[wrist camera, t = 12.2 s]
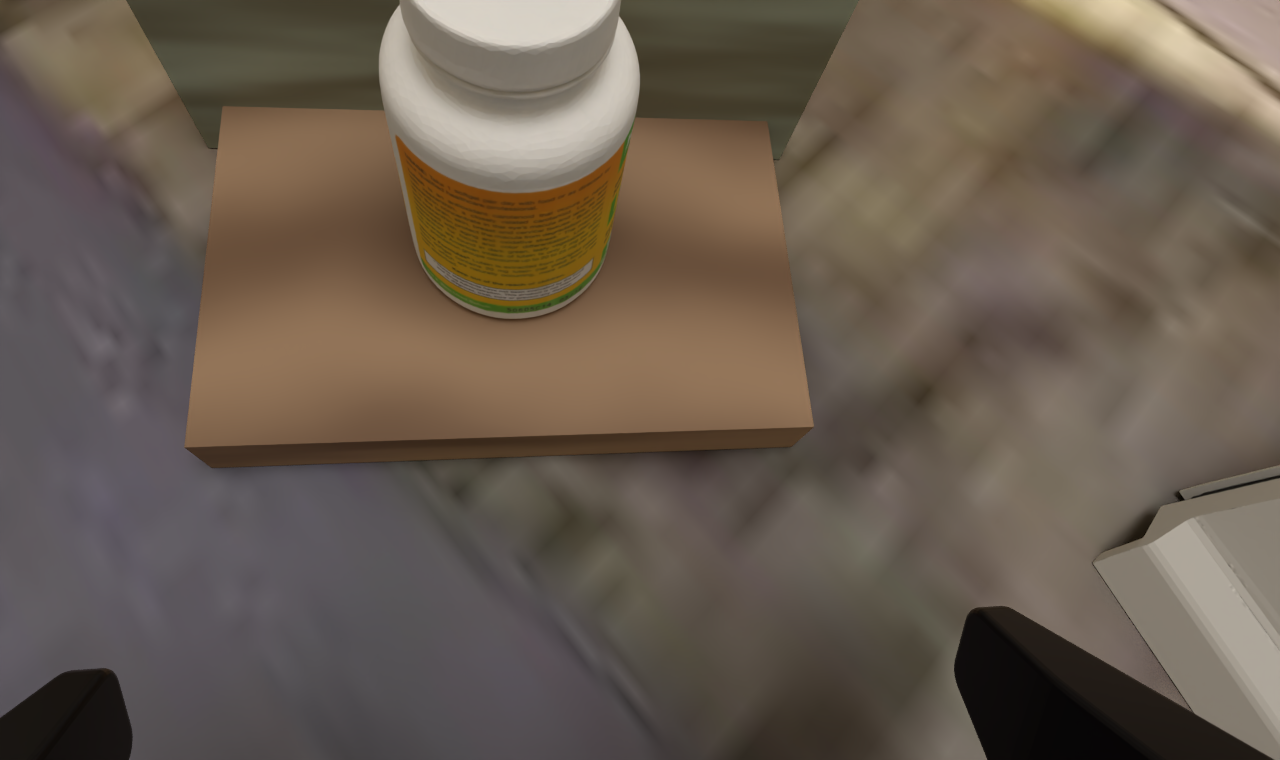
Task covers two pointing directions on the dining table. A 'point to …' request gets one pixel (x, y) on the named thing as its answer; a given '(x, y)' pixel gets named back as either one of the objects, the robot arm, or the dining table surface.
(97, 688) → the robot arm
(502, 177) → the supplement bottle
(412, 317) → the wall board ledge
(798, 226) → the dining table surface
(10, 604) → the dining table surface
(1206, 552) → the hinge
